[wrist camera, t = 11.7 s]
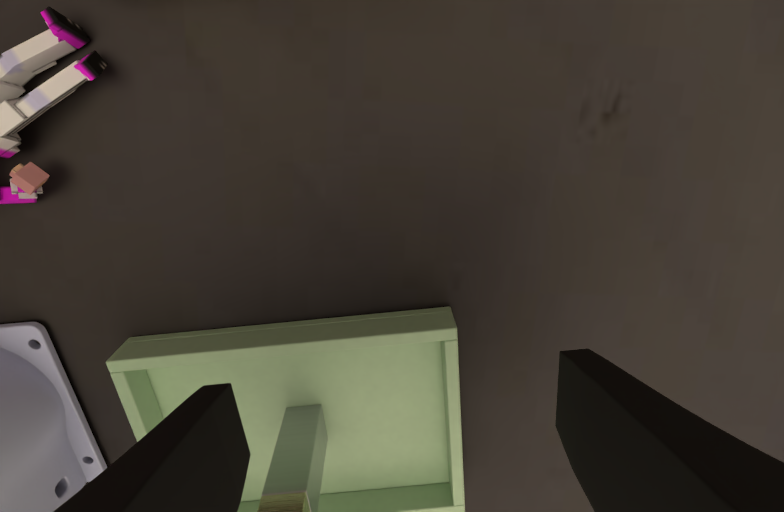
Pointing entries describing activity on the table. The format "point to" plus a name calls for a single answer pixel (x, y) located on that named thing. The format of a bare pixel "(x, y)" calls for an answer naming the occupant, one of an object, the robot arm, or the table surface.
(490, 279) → the table surface
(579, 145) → the table surface
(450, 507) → the tray
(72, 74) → the character figurine
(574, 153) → the table surface
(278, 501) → the tall bottle
